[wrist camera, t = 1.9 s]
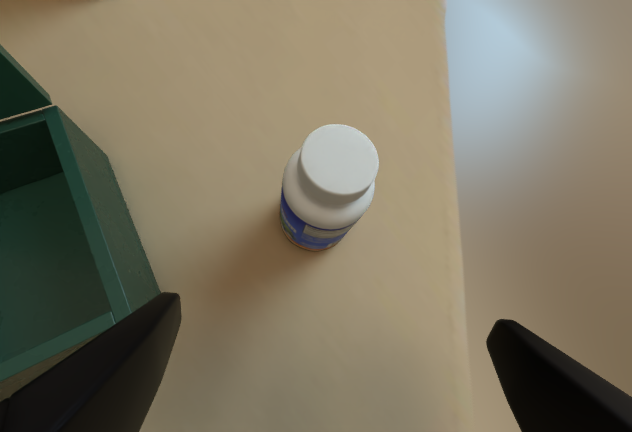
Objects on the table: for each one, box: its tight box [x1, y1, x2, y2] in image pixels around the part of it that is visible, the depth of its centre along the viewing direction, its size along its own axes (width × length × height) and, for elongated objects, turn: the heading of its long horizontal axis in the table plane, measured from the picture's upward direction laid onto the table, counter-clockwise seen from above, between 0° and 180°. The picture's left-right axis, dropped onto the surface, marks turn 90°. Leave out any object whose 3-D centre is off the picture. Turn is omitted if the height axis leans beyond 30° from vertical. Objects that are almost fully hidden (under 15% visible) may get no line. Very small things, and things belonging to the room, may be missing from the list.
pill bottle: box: [280, 124, 379, 251], centre depth 19 cm, size 5×5×10 cm
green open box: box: [0, 106, 160, 402], centre depth 18 cm, size 14×13×6 cm
